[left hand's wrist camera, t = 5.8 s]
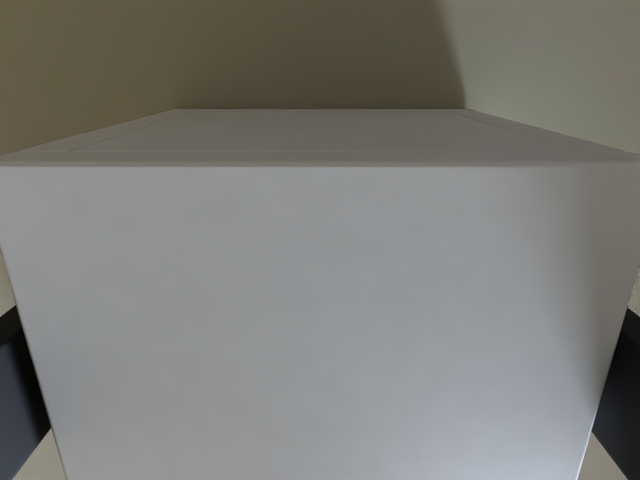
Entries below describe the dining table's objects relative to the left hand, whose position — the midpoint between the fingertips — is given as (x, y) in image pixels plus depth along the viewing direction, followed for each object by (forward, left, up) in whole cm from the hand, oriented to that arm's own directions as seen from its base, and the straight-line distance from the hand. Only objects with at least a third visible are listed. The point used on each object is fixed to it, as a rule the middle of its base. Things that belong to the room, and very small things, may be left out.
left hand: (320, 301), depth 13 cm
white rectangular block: (+4, -3, -6) cm, 8 cm away
